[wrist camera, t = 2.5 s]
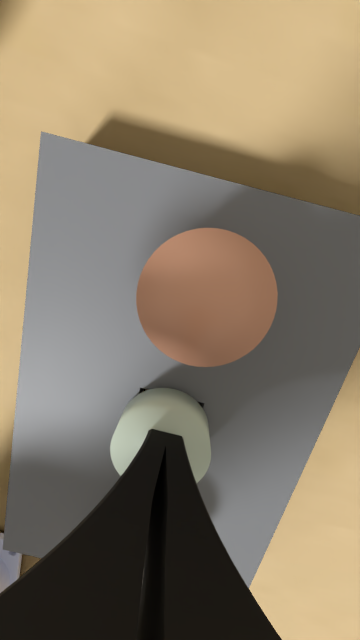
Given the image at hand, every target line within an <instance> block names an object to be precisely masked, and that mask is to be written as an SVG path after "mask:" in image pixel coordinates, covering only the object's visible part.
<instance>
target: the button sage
mask: <svg viewBox="0 0 360 640" xmlns="http://www.w3.org/2000/svg"><path fill="white" fill-rule="evenodd" d="M150 429H155V430H159V431H163V432H167V433H171V434H176V435H180V436H182V437H183V439H184V444H185V448H186V452H187V456H188V459H189V462H190V466H191V469H192V472H193V475H194V478H195V480H196V483H198V482H199V481H200V480H201V479H202V477H203V476H204V475H205V473H206V472H207V470H208V468H209V465H210V461H211V446H210V436H209V427H208V420H207V416H206V414H205V412H204V410H203V408H202V407H201V405H200V404H199V403H198V402H197V401H196V400H195V399H194V398H192V397H191V396H189V395H188V394H186V393H184V392H182V391H179V390H176V389H171V388H154V389H150V390H146V391H144V392H142V393H140V394H138V395H137V396H135V397H134V398H133V399H132V400H131V401H130V402H129V403H128V404H127V406H126V407H125V409H124V411H123V413H122V416H121V418H120V420H119V423H118V425H117V427H116V430H115V432H114V434H113V437H112V440H111V445H110V454H111V459H112V462H113V465H114V467H115V469H116V470H117V472H118V473H119V475H120V476H121V475H122V474H123V473H124V471H125V470H126V469H127V467H128V466H129V465H130V463H131V462H132V460H133V459H134V457H135V456H136V454H137V452H138V451H139V449H140V447H141V446H142V444H143V442H144V440H145V438H146V436H147V433H148V430H150Z"/></svg>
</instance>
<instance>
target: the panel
mask: <svg viewBox="0 0 360 640" xmlns="http://www.w3.org/2000/svg"><path fill="white" fill-rule="evenodd" d="M198 228H218V229H224V230H228V231H231V232H234V233H236V234H238V235H240V236H242V237H244V238H246V239H247V240H249V241H250V242H251V243H253V244H254V245H255V246H256V247H257V248H258V249H259V250H260V251H261V252H262V254H263V255H264V256H265V257H266V259H267V261H268V262H269V264H270V266H271V268H272V270H273V273H274V276H275V280H276V284H277V292H278V298H277V308H276V313H275V316H274V320H273V322H272V324H271V327H270V329H269V330H268V332H267V334H266V335H265V337H264V338H263V339H262V341H261V342H260V343H259V344H258V345H257V346H256V347H255V348H254V349H253V350H252V351H250V352H249V353H248V354H246V355H245V356H243V357H241V358H240V359H238V360H235V361H233V362H231V363H228V364H224V365H220V366H215V367H196V366H191V365H187V364H184V363H180V362H178V361H176V360H174V359H172V358H170V357H169V356H167V355H165V354H164V353H163V352H161V351H160V350H159V349H158V348H157V347H156V346H155V345H154V344H153V343H152V342H151V340H150V339H149V338H148V336H147V335H146V333H145V331H144V329H143V327H142V325H141V322H140V320H139V316H138V312H137V305H136V292H137V285H138V281H139V278H140V275H141V272H142V270H143V268H144V266H145V264H146V262H147V261H148V259H149V258H150V257H151V255H152V254H153V253H154V252H155V251H156V250H157V249H158V248H159V247H160V246H161V245H162V244H163V243H165V242H166V241H167V240H169V239H170V238H172V237H174V236H176V235H178V234H180V233H183V232H185V231H189V230H193V229H198ZM359 348H360V216H359V215H355V214H351V213H347V212H344V211H340V210H336V209H332V208H329V207H325V206H321V205H317V204H313V203H310V202H306V201H302V200H298V199H295V198H291V197H287V196H283V195H279V194H276V193H272V192H268V191H264V190H261V189H257V188H253V187H249V186H245V185H242V184H238V183H234V182H230V181H227V180H223V179H219V178H215V177H211V176H208V175H204V174H200V173H196V172H192V171H189V170H185V169H181V168H177V167H174V166H170V165H166V164H162V163H158V162H155V161H151V160H147V159H143V158H140V157H136V156H132V155H128V154H124V153H121V152H117V151H113V150H109V149H106V148H102V147H98V146H94V145H90V144H87V143H83V142H79V141H75V140H71V139H68V138H64V137H60V136H56V135H53V134H49V133H45V132H41V138H40V149H39V160H38V171H37V182H36V193H35V203H34V214H33V225H32V236H31V247H30V258H29V268H28V279H27V290H26V301H25V312H24V323H23V333H22V344H21V355H20V366H19V377H18V388H17V398H16V409H15V420H14V431H13V442H12V453H11V463H10V474H9V485H8V496H7V507H6V518H5V529H4V539H3V550H7V551H12V552H16V553H20V554H25V555H29V556H34V557H38V558H43V557H44V556H45V555H46V554H47V553H49V552H50V551H51V550H52V549H53V548H54V547H55V546H56V545H57V544H59V543H60V542H61V541H62V540H63V539H64V538H65V537H66V536H67V535H68V534H69V533H70V532H71V531H72V530H73V529H74V528H75V527H76V526H77V525H78V524H79V523H80V522H81V521H82V520H83V519H84V518H85V517H86V516H87V515H88V514H89V513H90V512H91V511H92V510H93V509H94V508H95V507H96V506H97V504H98V503H99V502H100V501H101V500H102V499H103V498H104V497H105V495H106V494H107V493H108V492H109V491H110V489H111V488H112V487H113V486H114V484H115V483H116V482H117V481H118V479H119V478H120V477H121V476H120V475H119V473H118V472H117V470H116V469H115V467H114V465H113V462H112V459H111V454H110V445H111V440H112V437H113V434H114V432H115V430H116V427H117V425H118V423H119V420H120V418H121V416H122V413H123V411H124V409H125V407H126V406H127V404H128V403H129V402H130V401H131V400H132V399H133V398H134V397H135V396H137V395H138V394H140V393H142V392H143V388H144V389H148V390H150V389H154V388H171V389H176V390H179V391H182V392H184V393H186V394H188V395H189V396H191V397H192V398H194V399H195V400H196V401H197V402H198V403H199V404H200V405H201V407H202V408H203V410H204V412H205V414H206V416H207V420H208V427H209V436H210V446H211V461H210V465H209V468H208V470H207V472H206V473H205V475H204V476H203V477H202V479H201V480H200V481H199V482H198V483H197V486H198V489H199V491H200V494H201V497H202V499H203V501H204V504H205V506H206V509H207V511H208V513H209V516H210V518H211V520H212V522H213V524H214V526H215V529H216V531H217V533H218V535H219V537H220V539H221V541H222V543H223V545H224V546H225V548H226V550H227V552H228V554H229V556H230V558H231V559H232V561H233V563H234V565H235V567H236V568H237V570H238V572H239V573H240V575H241V577H242V578H243V580H244V582H245V583H246V585H247V587H248V588H249V587H250V585H251V582H252V580H253V578H254V576H255V574H256V572H257V569H258V567H259V565H260V563H261V561H262V558H263V556H264V554H265V552H266V550H267V548H268V545H269V543H270V541H271V539H272V537H273V535H274V532H275V530H276V528H277V526H278V524H279V521H280V519H281V517H282V515H283V513H284V511H285V508H286V506H287V504H288V502H289V500H290V498H291V495H292V493H293V491H294V489H295V487H296V485H297V482H298V480H299V478H300V476H301V474H302V471H303V469H304V467H305V465H306V463H307V461H308V458H309V456H310V454H311V452H312V450H313V448H314V445H315V443H316V441H317V439H318V437H319V434H320V432H321V430H322V428H323V426H324V424H325V421H326V419H327V417H328V415H329V413H330V411H331V408H332V406H333V404H334V402H335V400H336V398H337V395H338V393H339V391H340V389H341V387H342V384H343V382H344V380H345V378H346V376H347V374H348V371H349V369H350V367H351V365H352V363H353V361H354V358H355V356H356V354H357V352H358V350H359Z"/></svg>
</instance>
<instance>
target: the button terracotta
mask: <svg viewBox="0 0 360 640" xmlns="http://www.w3.org/2000/svg"><path fill="white" fill-rule="evenodd" d="M277 298H278V292H277V284H276V280H275V276H274V273H273V270H272V268H271V266H270V264H269V262H268V261H267V259H266V257H265V256H264V255H263V254H262V252H261V251H260V250H259V249H258V248H257V247H256V246H255V245H254V244H253V243H251V242H250V241H249V240H247V239H246V238H244V237H242V236H240V235H238V234H236V233H234V232H231V231H228V230H224V229H218V228H198V229H193V230H189V231H185V232H183V233H180V234H178V235H176V236H174V237H172V238H170V239H169V240H167V241H166V242H165V243H163V244H162V245H161V246H160V247H159V248H158V249H157V250H156V251H155V252H154V253H153V254H152V255H151V257H150V258H149V259H148V261H147V262H146V264H145V266H144V268H143V270H142V272H141V275H140V278H139V281H138V285H137V292H136V305H137V312H138V316H139V320H140V322H141V325H142V327H143V329H144V331H145V333H146V335H147V336H148V338H149V339H150V340H151V342H152V343H153V344H154V345H155V346H156V347H157V348H158V349H159V350H160V351H161V352H163V353H164V354H165V355H167V356H169V357H170V358H172V359H174V360H176V361H178V362H180V363H184V364H187V365H191V366H196V367H215V366H220V365H224V364H228V363H231V362H233V361H235V360H238V359H240V358H241V357H243V356H245V355H246V354H248V353H249V352H250V351H252V350H253V349H254V348H255V347H256V346H257V345H258V344H259V343H260V342H261V341H262V339H263V338H264V337H265V335H266V334H267V332H268V330H269V329H270V327H271V324H272V322H273V320H274V316H275V313H276V308H277Z"/></svg>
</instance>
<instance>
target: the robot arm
mask: <svg viewBox="0 0 360 640" xmlns="http://www.w3.org/2000/svg"><path fill="white" fill-rule="evenodd" d="M3 539H4V533H0V640H282V639H281V638H280V636H279V635H278V634H277V632H276V631H275V629H274V628H273V626H272V625H271V623H270V622H269V620H268V619H267V617H266V616H265V614H264V612H263V611H262V609H261V608H260V606H259V605H258V603H257V602H256V600H255V598H254V597H253V595H252V593H251V592H250V590H249V588H248V587H247V585H246V583H245V582H244V580H243V578H242V577H241V575H240V573H239V572H238V570H237V568H236V567H235V565H234V563H233V561H232V559H231V558H230V556H229V554H228V552H227V550H226V548H225V546H224V545H223V543H222V541H221V539H220V537H219V535H218V533H217V531H216V529H215V526H214V524H213V522H212V520H211V518H210V516H209V513H208V511H207V509H206V506H205V504H204V501H203V499H202V497H201V494H200V491H199V489H198V486H197V483H196V480H195V478H194V475H193V472H192V469H191V466H190V462H189V459H188V456H187V452H186V448H185V444H184V439H183V437H182V436H180V435H176V434H171V433H167V432H163V431H159V430H155V429H150V430H148V433H147V436H146V438H145V440H144V442H143V444H142V446H141V447H140V449H139V451H138V452H137V454H136V456H135V457H134V459H133V460H132V462H131V463H130V465H129V466H128V467H127V469H126V470H125V471H124V473H123V474H122V475H121V477H120V478H119V479H118V481H117V482H116V483H115V484H114V486H113V487H112V488H111V489H110V491H109V492H108V493H107V494H106V495H105V497H104V498H103V499H102V500H101V501H100V502H99V503H98V504H97V506H96V507H95V508H94V509H93V510H92V511H91V512H90V513H89V514H88V515H87V516H86V517H85V518H84V519H83V520H82V521H81V522H80V523H79V524H78V525H77V526H76V527H75V528H74V529H73V530H72V531H71V532H70V533H69V534H68V535H67V536H66V537H65V538H64V539H63V540H62V541H61V542H60V543H59V544H57V545H56V546H55V547H54V548H53V549H52V550H51V551H50V552H49V553H47V554H46V555H45V556H44V557H43V558H42V559H41V560H40V561H38V562H37V563H36V564H35V565H34V566H33V567H32V568H30V569H29V570H28V571H27V572H26V573H25V574H23V575H22V576H21V577H20V578H19V576H20V568H21V560H22V554H20V553H16V552H12V551H7V550H3ZM143 571H144V572H143ZM142 580H143V581H142Z"/></svg>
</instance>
